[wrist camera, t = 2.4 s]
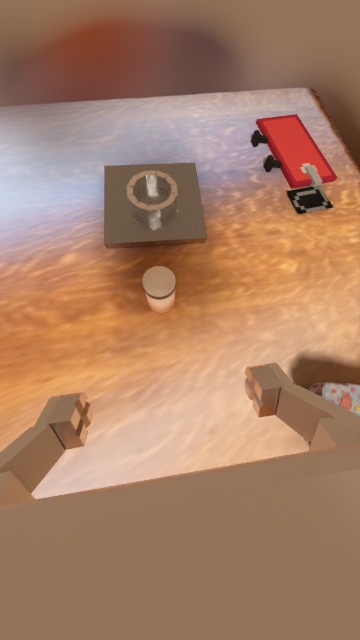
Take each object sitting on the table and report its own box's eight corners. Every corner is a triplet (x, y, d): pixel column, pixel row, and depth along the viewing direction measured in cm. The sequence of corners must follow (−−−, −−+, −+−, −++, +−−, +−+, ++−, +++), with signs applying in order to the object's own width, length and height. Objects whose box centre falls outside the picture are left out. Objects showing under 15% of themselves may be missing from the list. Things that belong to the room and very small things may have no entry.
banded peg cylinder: (148, 314, 38) (142, 297, 31) (146, 289, 40) (141, 266, 32) (176, 312, 39) (177, 295, 31) (173, 287, 40) (174, 264, 32)
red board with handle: (289, 218, 46) (348, 207, 48) (296, 208, 43) (358, 196, 45) (241, 127, 54) (293, 120, 56) (245, 114, 52) (299, 107, 54)
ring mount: (106, 248, 42) (100, 235, 38) (106, 172, 47) (100, 154, 44) (205, 242, 43) (209, 228, 39) (194, 169, 49) (196, 151, 45)
